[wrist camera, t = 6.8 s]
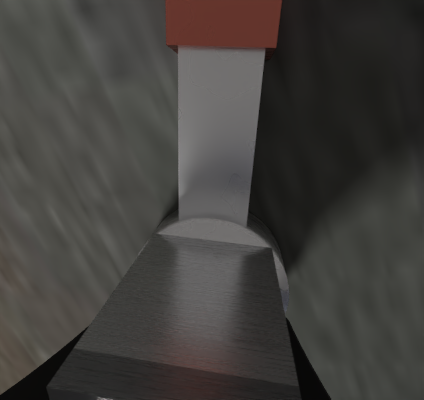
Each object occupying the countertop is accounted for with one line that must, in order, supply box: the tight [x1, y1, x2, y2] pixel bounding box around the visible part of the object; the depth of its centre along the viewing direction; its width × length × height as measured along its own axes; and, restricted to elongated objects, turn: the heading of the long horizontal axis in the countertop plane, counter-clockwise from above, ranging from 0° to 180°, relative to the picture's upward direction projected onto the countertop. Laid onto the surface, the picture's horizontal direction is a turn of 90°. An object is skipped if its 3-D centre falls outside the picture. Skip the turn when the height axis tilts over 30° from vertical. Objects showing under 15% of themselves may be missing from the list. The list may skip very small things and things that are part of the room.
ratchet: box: [136, 0, 289, 312], centre depth 9 cm, size 19×7×5 cm, turn 178°
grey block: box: [46, 233, 301, 400], centre depth 8 cm, size 5×5×6 cm
